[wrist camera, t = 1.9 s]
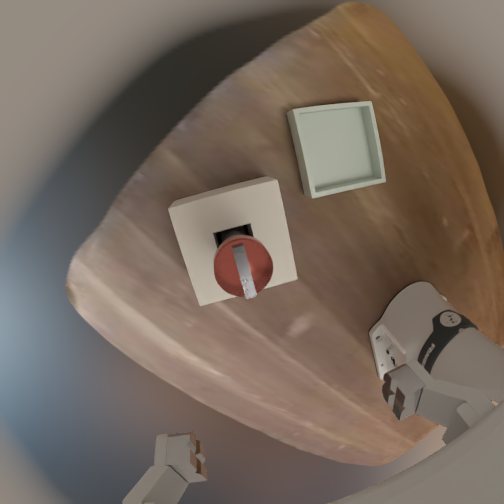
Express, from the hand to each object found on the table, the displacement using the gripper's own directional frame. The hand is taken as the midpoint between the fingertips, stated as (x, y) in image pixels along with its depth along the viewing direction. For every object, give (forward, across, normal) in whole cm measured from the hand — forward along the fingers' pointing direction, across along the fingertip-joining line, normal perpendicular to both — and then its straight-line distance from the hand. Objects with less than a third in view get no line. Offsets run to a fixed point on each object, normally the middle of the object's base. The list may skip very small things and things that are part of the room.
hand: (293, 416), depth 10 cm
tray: (+29, -16, -8) cm, 34 cm away
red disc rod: (+29, 0, 0) cm, 29 cm away
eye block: (+29, 0, 0) cm, 29 cm away
